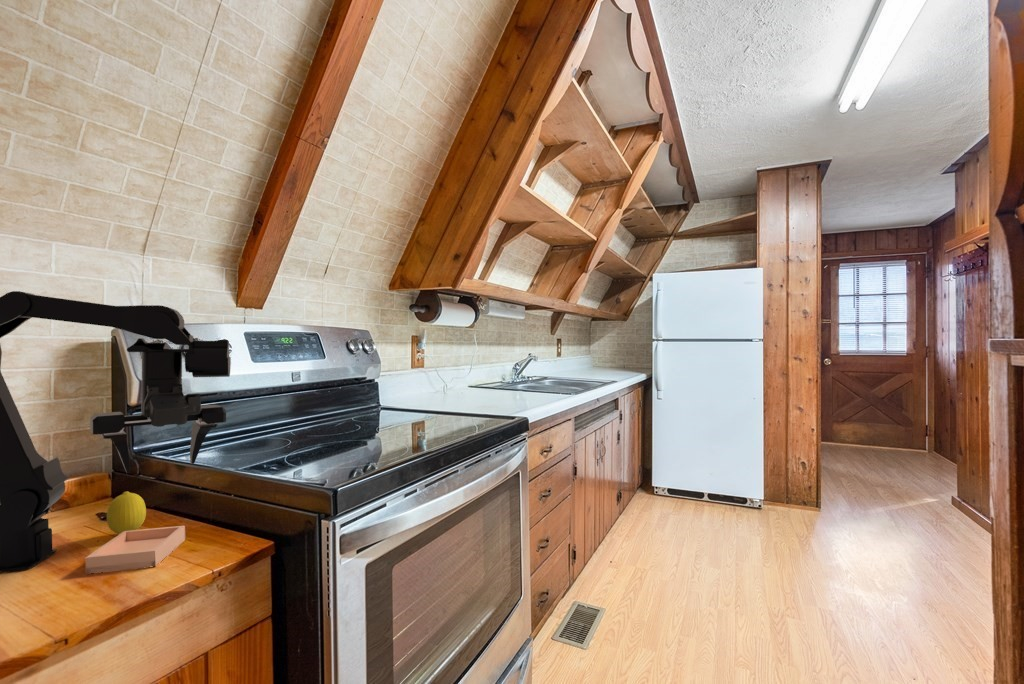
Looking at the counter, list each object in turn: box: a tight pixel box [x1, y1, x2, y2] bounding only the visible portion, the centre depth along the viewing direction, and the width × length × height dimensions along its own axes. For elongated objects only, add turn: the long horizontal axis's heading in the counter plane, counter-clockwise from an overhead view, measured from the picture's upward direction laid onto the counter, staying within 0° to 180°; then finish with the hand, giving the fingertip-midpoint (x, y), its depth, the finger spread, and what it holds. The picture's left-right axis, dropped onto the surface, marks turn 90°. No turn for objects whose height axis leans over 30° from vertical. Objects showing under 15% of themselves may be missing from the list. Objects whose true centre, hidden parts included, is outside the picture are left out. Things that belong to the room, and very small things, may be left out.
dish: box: [84, 525, 186, 575], centre depth 79 cm, size 9×10×2 cm
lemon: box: [106, 491, 147, 535], centre depth 87 cm, size 6×6×8 cm
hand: (161, 467), depth 85 cm, fingers open, 9 cm apart
